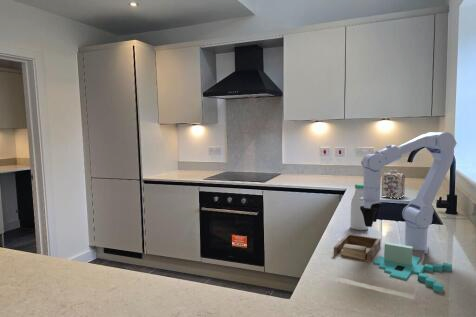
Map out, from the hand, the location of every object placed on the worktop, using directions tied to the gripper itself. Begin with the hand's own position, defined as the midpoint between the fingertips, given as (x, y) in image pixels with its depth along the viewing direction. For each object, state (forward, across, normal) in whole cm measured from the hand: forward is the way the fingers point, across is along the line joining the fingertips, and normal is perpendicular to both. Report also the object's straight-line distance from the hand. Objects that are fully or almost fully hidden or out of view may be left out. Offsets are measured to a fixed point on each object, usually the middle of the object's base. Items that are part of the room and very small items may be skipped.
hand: (370, 223), depth 122 cm
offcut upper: (+7, +11, -3) cm, 14 cm away
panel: (+8, +11, +11) cm, 17 cm away
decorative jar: (+10, -113, -8) cm, 114 cm away
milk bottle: (+10, -27, -10) cm, 31 cm away
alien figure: (+11, +13, +14) cm, 22 cm away
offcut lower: (+9, +11, -3) cm, 14 cm away
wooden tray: (+10, +6, -3) cm, 12 cm away
